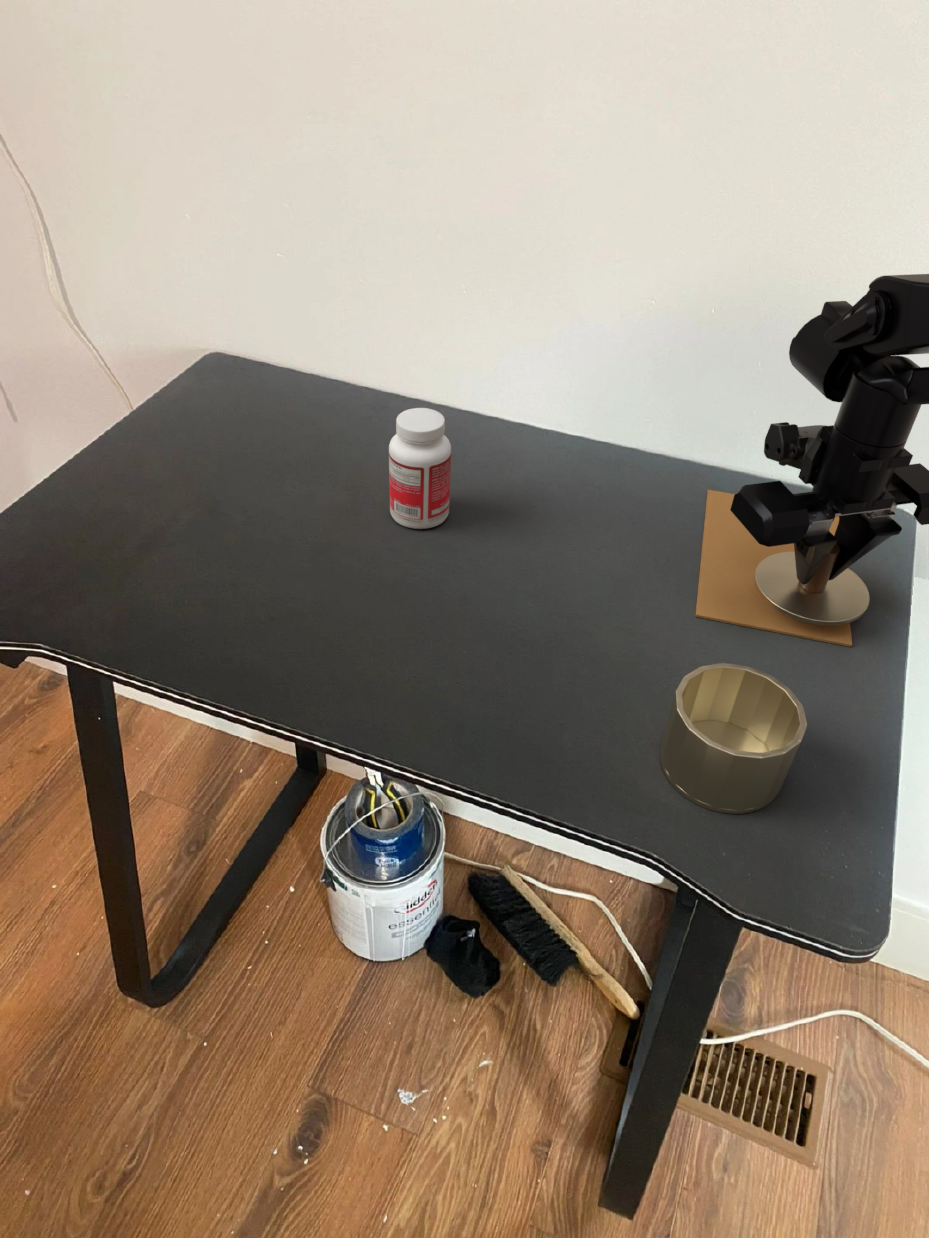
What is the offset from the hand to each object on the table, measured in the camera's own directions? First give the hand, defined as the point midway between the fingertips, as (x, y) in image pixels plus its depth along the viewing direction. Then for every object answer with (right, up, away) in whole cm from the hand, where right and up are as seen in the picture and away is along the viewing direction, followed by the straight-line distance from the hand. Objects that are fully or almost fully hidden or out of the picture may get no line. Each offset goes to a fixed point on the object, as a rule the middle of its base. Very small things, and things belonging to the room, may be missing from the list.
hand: (814, 579), depth 85 cm
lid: (0, -1, +1) cm, 1 cm away
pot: (-12, -15, -13) cm, 24 cm away
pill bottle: (-37, +7, +10) cm, 39 cm away
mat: (-2, +2, +7) cm, 7 cm away
